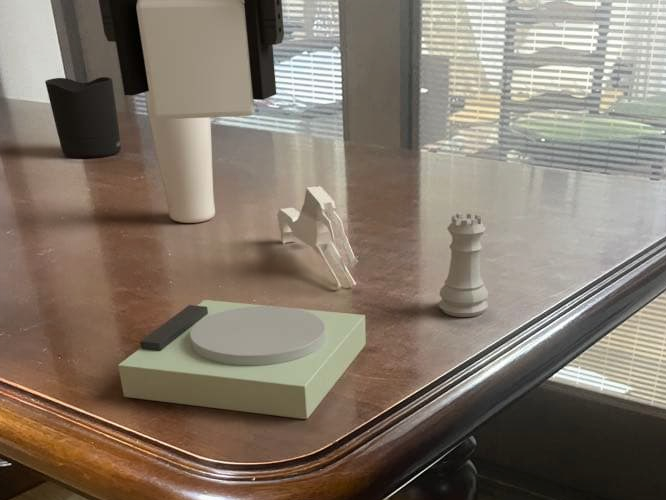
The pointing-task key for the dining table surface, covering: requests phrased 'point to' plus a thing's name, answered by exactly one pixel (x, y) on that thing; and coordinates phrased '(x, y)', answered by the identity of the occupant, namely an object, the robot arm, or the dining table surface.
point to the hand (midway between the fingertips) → (200, 94)
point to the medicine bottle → (196, 58)
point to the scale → (245, 358)
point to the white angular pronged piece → (316, 228)
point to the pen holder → (85, 117)
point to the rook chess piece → (464, 269)
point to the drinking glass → (185, 165)
